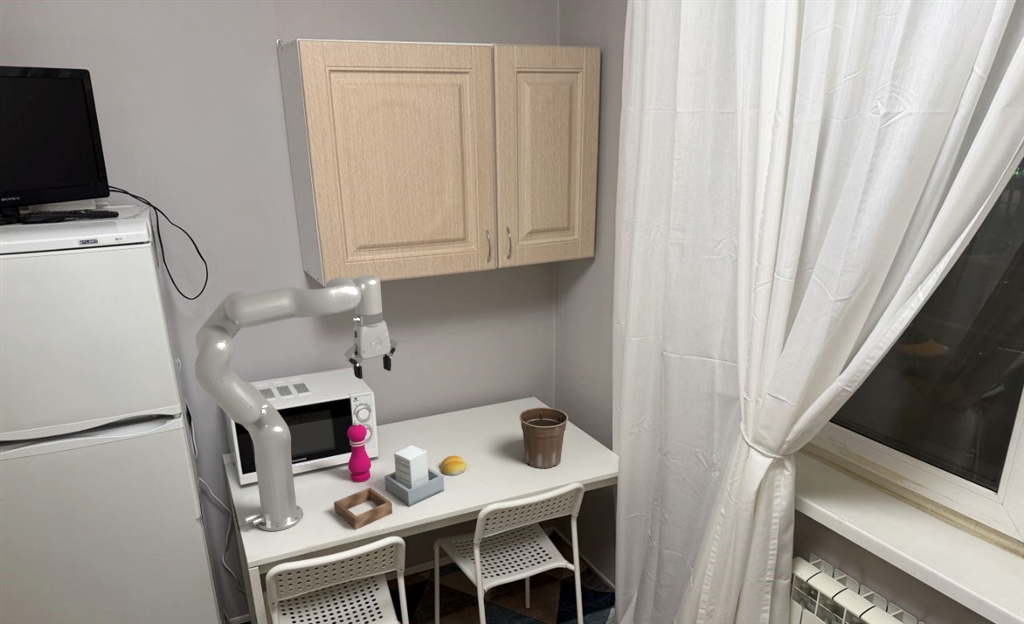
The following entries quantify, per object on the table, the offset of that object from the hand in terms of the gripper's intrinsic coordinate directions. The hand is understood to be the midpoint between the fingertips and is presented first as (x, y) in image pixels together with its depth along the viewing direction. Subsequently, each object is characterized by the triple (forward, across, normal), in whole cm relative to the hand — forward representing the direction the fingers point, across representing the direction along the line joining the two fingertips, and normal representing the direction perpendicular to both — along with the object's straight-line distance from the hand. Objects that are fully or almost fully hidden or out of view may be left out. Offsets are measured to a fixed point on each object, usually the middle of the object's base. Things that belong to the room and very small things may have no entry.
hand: (373, 373), depth 190 cm
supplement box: (+38, +6, -8) cm, 39 cm away
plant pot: (+39, +50, -22) cm, 67 cm away
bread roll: (+39, +24, -5) cm, 46 cm away
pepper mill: (+38, -1, +11) cm, 40 cm away
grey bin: (+38, +7, -8) cm, 40 cm away
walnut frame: (+38, -11, -8) cm, 41 cm away
